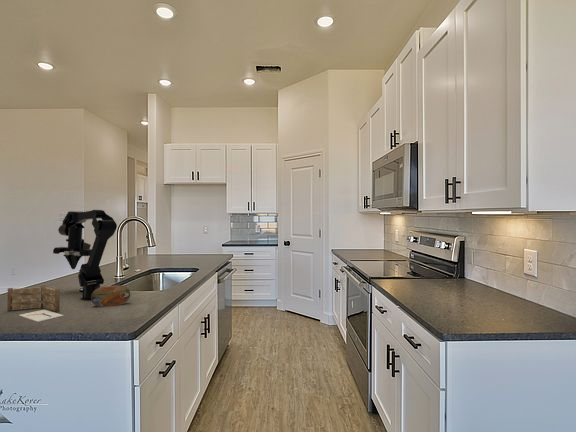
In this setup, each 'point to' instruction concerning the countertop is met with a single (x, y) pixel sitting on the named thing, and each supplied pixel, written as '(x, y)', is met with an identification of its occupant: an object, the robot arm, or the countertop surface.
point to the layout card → (40, 315)
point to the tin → (110, 296)
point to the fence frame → (50, 298)
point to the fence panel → (23, 298)
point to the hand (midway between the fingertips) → (73, 269)
